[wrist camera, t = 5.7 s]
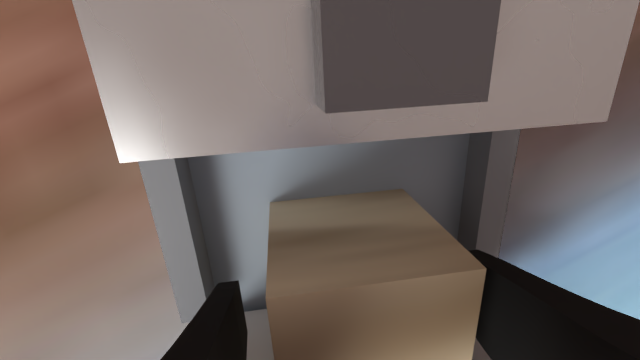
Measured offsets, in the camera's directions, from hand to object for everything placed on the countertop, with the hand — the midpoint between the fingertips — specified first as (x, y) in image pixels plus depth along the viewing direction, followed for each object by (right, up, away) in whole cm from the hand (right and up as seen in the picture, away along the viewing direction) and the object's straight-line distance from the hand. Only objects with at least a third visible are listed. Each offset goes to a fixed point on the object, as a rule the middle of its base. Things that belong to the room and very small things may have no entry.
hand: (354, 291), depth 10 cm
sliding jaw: (-1, +7, 0) cm, 7 cm away
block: (0, +1, +2) cm, 3 cm away
